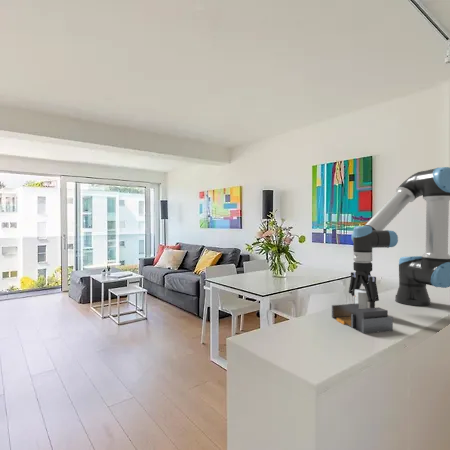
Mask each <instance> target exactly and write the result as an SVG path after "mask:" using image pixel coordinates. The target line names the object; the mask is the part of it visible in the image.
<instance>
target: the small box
mask: <svg viewBox="0 0 450 450" xmlns="http://www.w3.org/2000/svg"><path fill="white" fill-rule="evenodd" d="M354 297H355V304H356V303H358V304H359V309H365V308H368V305H367V301H368V300H369V299H368V296H367V293H366V290H365V288H360V289H355V291H354ZM371 299H372V298H371Z"/></svg>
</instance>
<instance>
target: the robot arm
mask: <svg viewBox="0 0 450 450" xmlns="http://www.w3.org/2000/svg"><path fill="white" fill-rule="evenodd" d="M421 196H422V199H423V200H424V201H425V202H426V208H425V209H426V211H425V212H426V214H425V217H426V218H425V219H426V220H425V222H426V223H425V253H424V254H422V255H419V256H418V255H416V256H401V257H399V260H398V285H399V286H398V288H397V293H396V294H395V296H394V297H395V302H396V303H399V304H403V305H409V306H419V307H422V306H423V307H425V306H430V305H431V298H430V295H429V293H428V292H429V291H428V290H427V286H432V287H434V288H443V289H444V288H445V289H446V288H450V254H449V222H450V221H449V220H450V219H449V215H450V167H449V166H443V167H442V166H441V167H436V168H433V169H432V168H431V169H426V170H421V171H418V172H415V173H414V174H412V175H410V176H409V177H408V178H406V179H405V180H404V181H403V182H402V183H401V184H400V185H399V186H398V187H397V188H396V190H395V193H394V194H393V195H392V197H391V198H389V200H387V202H386V203H384V205H383V206H382V207H381V208H380V209H379V210H378V211H377V212H376V213H375V214H374V215H373V216H372V217H371V218H370V219H369V220H368V222H366V223H365V225H363V226H362V225H360V226H354V227H353V232H352V233H351V235H350V236H351V237H350V238H351V241H352V243H353V245H352V246H353V261H354V262H353V263H352V265H353V266H352V267H353V271H354V272H353V271H351V272H350V281H349V287H348V293H349V294H350V295H351V297H352V298H351V302H352V304H355V297H354V291H355V289H361V287H362V286H363V287H364V289H365V290H366V293H367V296H368V299H369V300H368V301H367V305H368V308H376V302H378V301H380V298H379V292H378V286H377V277H376V276H372V275H371V272H372V271H373V249H374V248H375V249H376V248H378V249H379V248H384V249H385V248H387V249H389V248H394V247H395V246H397V244H398V243H399V237H398V234H397V232H396V231H394V230H388V229H387V230H385V228H386V227H387V226H388V225H390V223H391V222H392V221H393V220H394V219H395V218H396V217H397V215H399V214H400V213H401V212H402V211H403V209H404V208H406V206H407V205H408V204H409V203H412V202H414V201H415V200H416V199H417V198H419V197H421ZM371 298H372V299H371Z"/></svg>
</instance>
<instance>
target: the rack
mask: <svg viewBox="0 0 450 450" xmlns="http://www.w3.org/2000/svg"><path fill="white" fill-rule="evenodd" d="M356 309H359V304H358V303H356V304H353V303H348V304H347V303H346V304H345V303H343V304H332V305H331V318H332V319H334V320H336V321H337V322H338V323H341V324H342V325H346V326H348V327H349V328H352V329H354V330H355V331H357V332H360V333H361V334H373V333H386V332H393V330H394V325H393V323H394V321H393V319H394V318H393V316H392V315H389V316H385V317H373V318H362V331H360V330H358V329H356Z"/></svg>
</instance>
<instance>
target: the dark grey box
mask: <svg viewBox="0 0 450 450" xmlns="http://www.w3.org/2000/svg"><path fill="white" fill-rule="evenodd" d="M388 314H389V313H388V309H385V308H381V307H375V308H365V309H356V329H358V330H360V331H362V318H373V317H385V316H388Z"/></svg>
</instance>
